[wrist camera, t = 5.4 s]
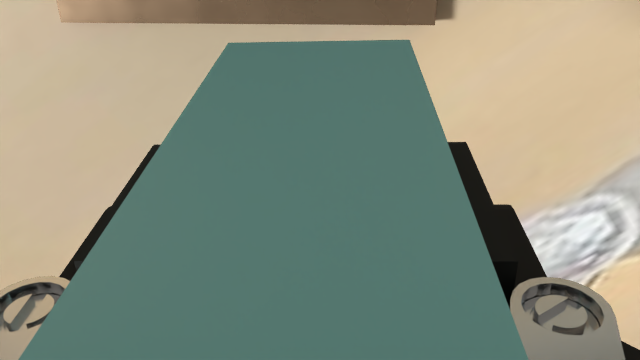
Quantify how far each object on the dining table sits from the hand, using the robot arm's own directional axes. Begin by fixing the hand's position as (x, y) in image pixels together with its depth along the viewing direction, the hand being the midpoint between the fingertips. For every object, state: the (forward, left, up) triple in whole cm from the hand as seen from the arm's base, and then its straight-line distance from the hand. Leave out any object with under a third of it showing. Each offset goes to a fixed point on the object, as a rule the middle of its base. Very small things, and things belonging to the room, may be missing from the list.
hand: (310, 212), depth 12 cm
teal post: (0, 0, -5) cm, 5 cm away
